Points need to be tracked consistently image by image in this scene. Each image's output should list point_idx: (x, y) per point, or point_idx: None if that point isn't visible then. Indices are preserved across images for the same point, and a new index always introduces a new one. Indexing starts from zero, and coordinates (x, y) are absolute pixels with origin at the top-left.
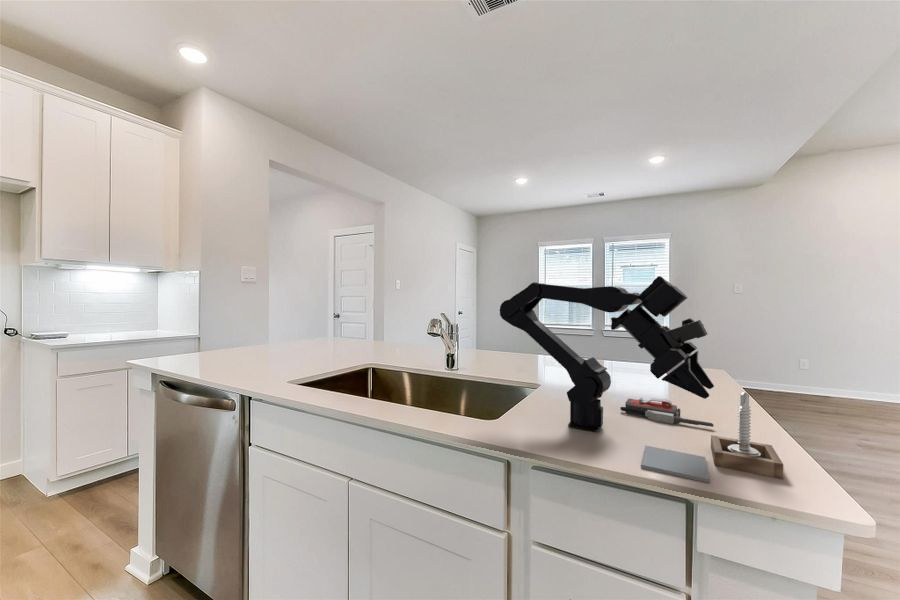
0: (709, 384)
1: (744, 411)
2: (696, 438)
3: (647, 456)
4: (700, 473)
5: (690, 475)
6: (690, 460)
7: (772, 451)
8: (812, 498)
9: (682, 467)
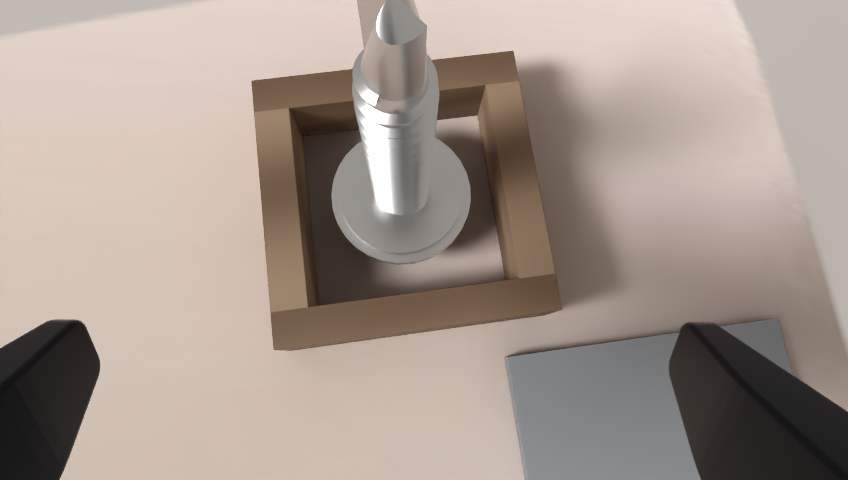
0: (65, 371)
1: (438, 93)
2: (176, 432)
3: None
4: None
5: None
6: (612, 413)
7: None
8: (619, 17)
9: None
